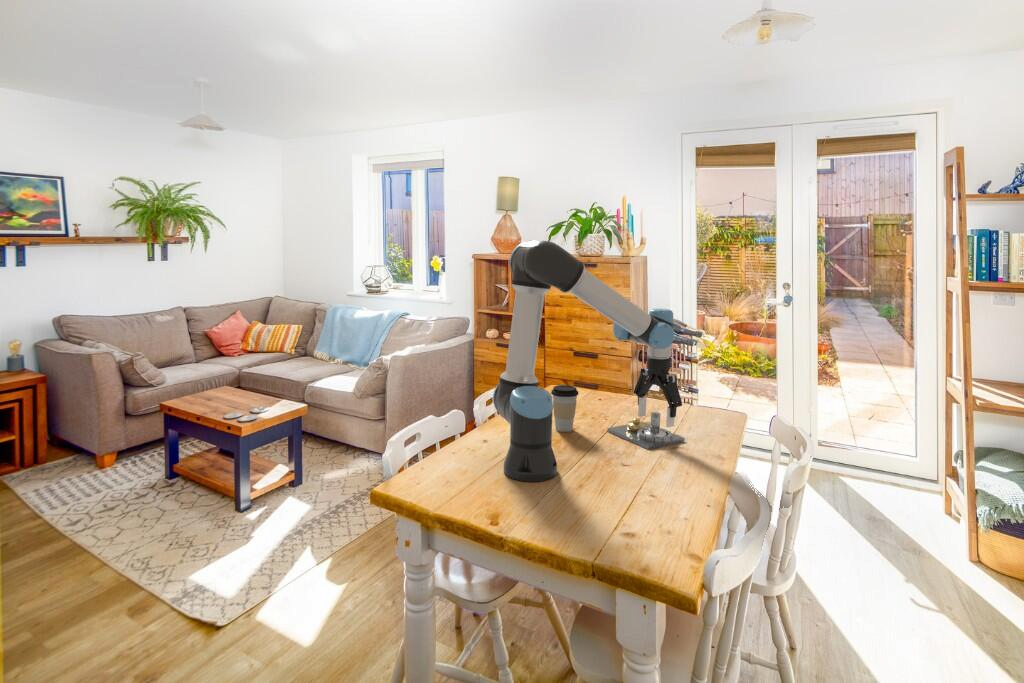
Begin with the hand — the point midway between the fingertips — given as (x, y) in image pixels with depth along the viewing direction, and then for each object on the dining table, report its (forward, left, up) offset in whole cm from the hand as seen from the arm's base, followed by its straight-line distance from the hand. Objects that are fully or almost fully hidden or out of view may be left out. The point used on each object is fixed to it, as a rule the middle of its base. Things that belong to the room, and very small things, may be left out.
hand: (655, 421), depth 186 cm
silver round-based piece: (0, 0, -5) cm, 5 cm away
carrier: (0, +4, -7) cm, 8 cm away
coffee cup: (-20, +24, -7) cm, 32 cm away
